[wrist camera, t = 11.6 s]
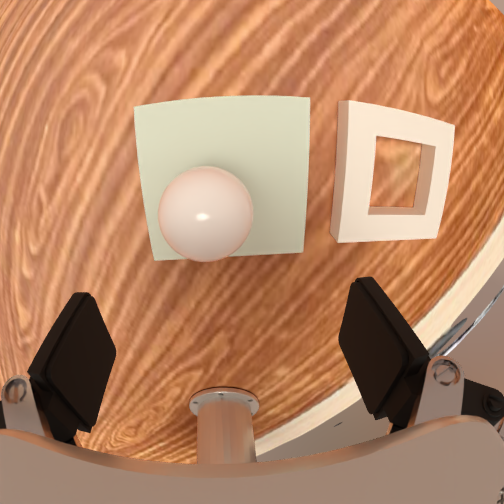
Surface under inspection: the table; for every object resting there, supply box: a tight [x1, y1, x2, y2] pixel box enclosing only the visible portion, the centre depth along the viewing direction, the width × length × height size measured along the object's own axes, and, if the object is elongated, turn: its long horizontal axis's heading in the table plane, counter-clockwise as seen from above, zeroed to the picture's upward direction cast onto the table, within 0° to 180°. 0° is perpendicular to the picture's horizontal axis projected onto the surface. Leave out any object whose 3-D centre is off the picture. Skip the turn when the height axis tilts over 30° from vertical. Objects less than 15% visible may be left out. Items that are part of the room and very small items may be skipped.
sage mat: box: [134, 96, 310, 261], centre depth 25 cm, size 16×16×1 cm
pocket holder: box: [330, 100, 455, 243], centre depth 25 cm, size 14×14×2 cm
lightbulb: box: [158, 166, 254, 262], centre depth 20 cm, size 6×6×11 cm
